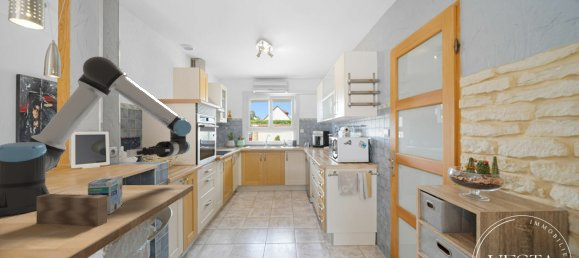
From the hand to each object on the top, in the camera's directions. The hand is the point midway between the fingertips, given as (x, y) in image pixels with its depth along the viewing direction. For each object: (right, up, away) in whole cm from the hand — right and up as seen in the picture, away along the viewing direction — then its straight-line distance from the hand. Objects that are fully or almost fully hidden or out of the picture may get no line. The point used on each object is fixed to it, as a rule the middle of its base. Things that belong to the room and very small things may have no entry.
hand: (128, 153), depth 89 cm
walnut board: (-3, -19, -20) cm, 27 cm away
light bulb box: (-2, -19, -8) cm, 21 cm away
